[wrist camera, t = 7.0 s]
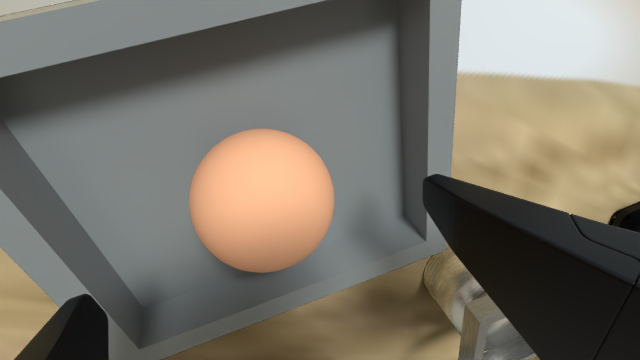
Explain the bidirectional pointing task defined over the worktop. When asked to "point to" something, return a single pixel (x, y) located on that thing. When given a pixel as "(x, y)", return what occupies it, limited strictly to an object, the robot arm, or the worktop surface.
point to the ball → (261, 200)
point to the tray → (202, 135)
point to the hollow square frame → (472, 312)
